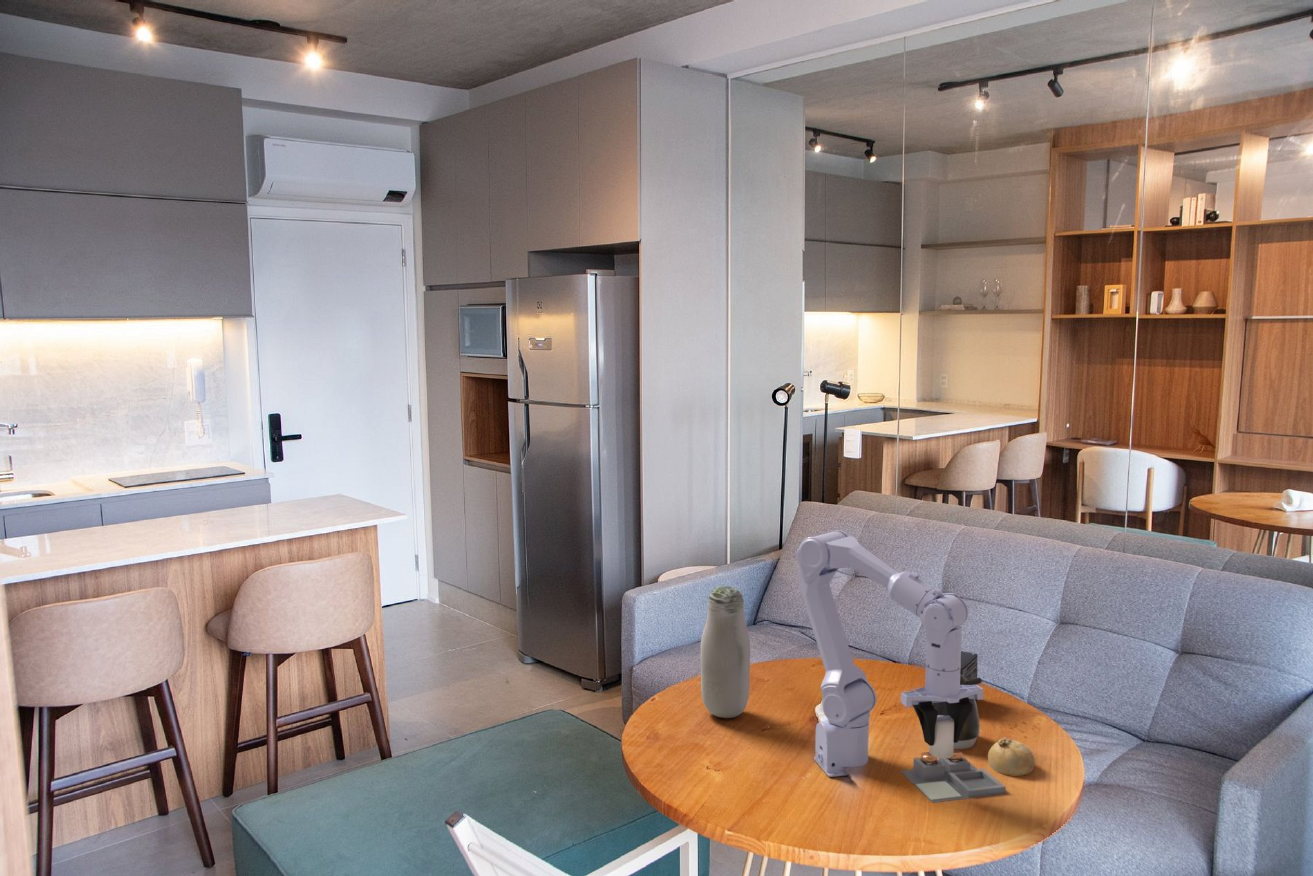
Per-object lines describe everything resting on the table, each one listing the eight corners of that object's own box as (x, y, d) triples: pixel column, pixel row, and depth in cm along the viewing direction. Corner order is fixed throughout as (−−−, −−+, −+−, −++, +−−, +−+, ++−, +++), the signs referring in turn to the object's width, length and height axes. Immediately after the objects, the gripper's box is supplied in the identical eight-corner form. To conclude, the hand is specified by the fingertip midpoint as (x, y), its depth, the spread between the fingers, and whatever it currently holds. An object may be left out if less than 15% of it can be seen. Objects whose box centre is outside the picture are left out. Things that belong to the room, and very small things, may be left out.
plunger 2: (951, 771, 169) (951, 756, 168) (943, 764, 171) (943, 750, 171) (965, 770, 169) (965, 755, 169) (957, 763, 172) (957, 748, 172)
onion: (1001, 761, 178) (1002, 725, 177) (1042, 775, 172) (1043, 738, 171) (979, 775, 172) (980, 737, 171) (1021, 790, 166) (1022, 751, 166)
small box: (949, 693, 212) (950, 648, 211) (978, 699, 208) (979, 653, 207) (932, 708, 203) (933, 661, 202) (962, 714, 199) (964, 667, 198)
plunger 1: (925, 774, 168) (925, 759, 167) (918, 767, 170) (918, 752, 170) (939, 773, 168) (940, 758, 168) (932, 766, 171) (932, 751, 171)
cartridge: (937, 759, 160) (937, 723, 159) (924, 749, 164) (925, 713, 163) (957, 756, 161) (958, 720, 160) (945, 747, 165) (946, 711, 164)
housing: (932, 811, 159) (932, 789, 159) (899, 778, 171) (900, 758, 170) (1006, 802, 162) (1007, 781, 161) (969, 771, 174) (970, 751, 173)
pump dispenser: (983, 760, 178) (985, 683, 176) (926, 756, 180) (928, 679, 178) (976, 738, 188) (978, 664, 186) (922, 734, 190) (924, 661, 188)
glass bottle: (692, 717, 200) (691, 588, 197) (721, 702, 207) (721, 578, 204) (730, 729, 193) (729, 596, 190) (758, 713, 201) (758, 586, 198)
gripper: (915, 677, 155) (914, 756, 157) (994, 670, 158) (991, 747, 160) (895, 663, 162) (894, 738, 163) (971, 656, 165) (969, 730, 167)
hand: (941, 741), depth 162 cm, fingers closed on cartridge, 4 cm apart
